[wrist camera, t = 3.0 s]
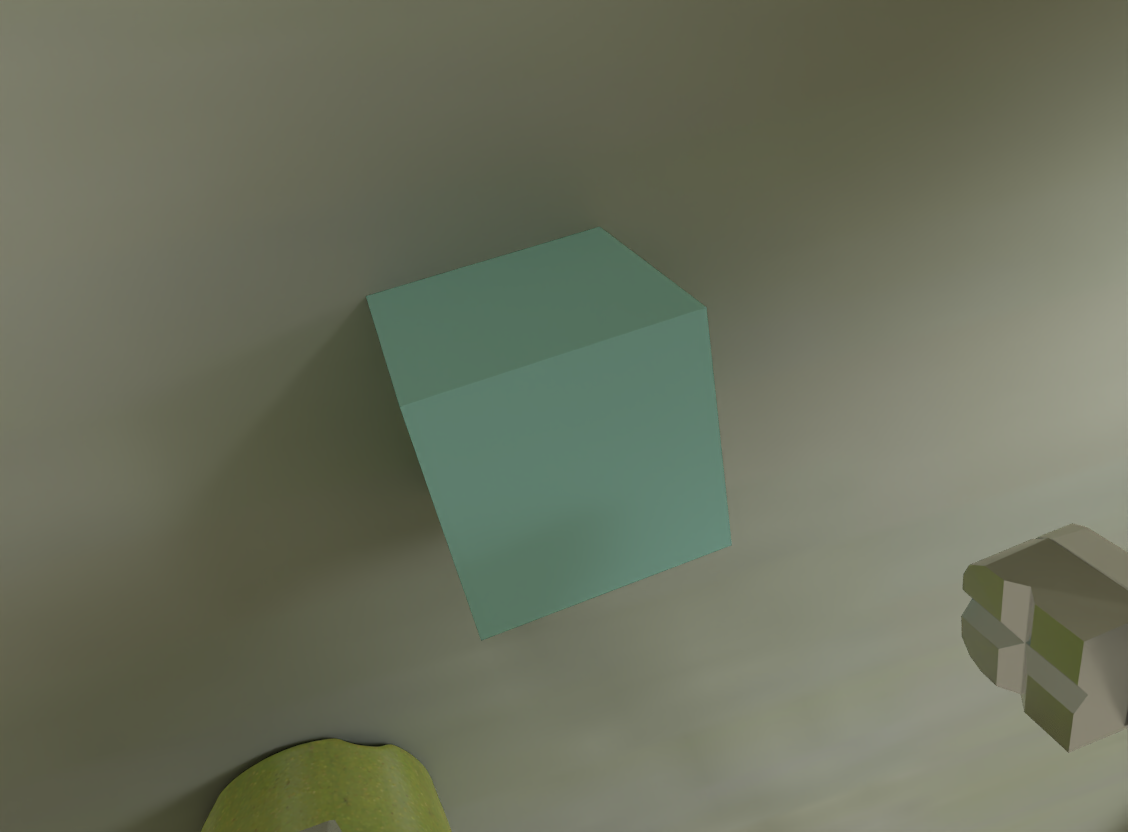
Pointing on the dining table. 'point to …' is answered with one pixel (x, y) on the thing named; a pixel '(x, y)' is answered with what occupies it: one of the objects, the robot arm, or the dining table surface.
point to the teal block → (559, 422)
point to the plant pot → (331, 792)
